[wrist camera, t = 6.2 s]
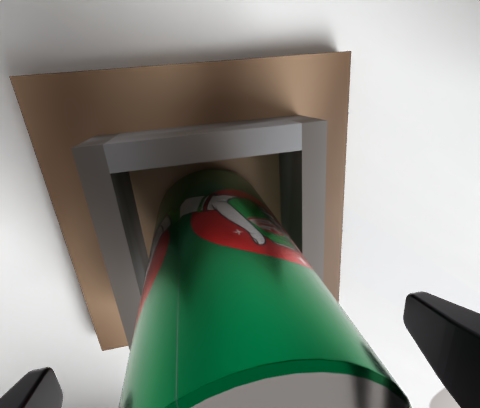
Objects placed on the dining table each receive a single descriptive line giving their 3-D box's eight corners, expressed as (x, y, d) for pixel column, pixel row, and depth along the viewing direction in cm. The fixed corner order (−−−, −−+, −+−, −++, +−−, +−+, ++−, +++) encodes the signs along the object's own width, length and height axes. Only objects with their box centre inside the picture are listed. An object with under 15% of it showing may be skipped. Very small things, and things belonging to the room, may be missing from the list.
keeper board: (340, 53, 14) (395, 40, 10) (330, 293, 19) (366, 340, 16) (22, 77, 12) (-47, 71, 9) (106, 337, 17) (85, 403, 14)
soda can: (197, 276, 16) (232, 701, 5) (136, 204, 14) (-44, 645, 3) (277, 225, 16) (506, 549, 5) (226, 144, 14) (411, 374, 3)
